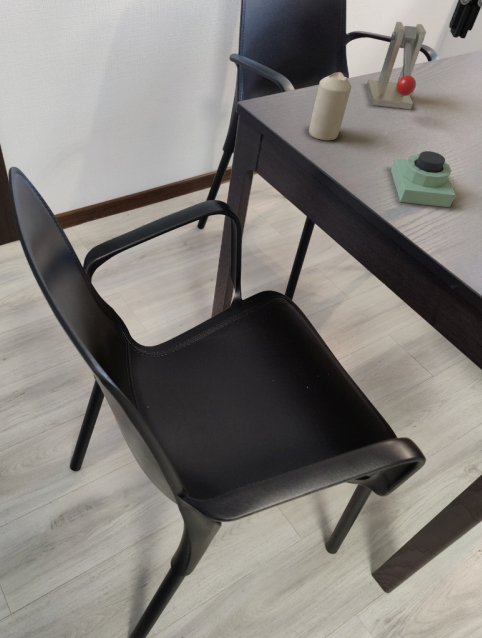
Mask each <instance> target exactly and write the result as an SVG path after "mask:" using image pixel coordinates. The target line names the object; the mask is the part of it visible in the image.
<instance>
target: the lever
mask: <svg viewBox="0 0 482 638" xmlns="http://www.w3.org/2000/svg"><path fill="white" fill-rule="evenodd" d="M403 26H404V28H405V32H404V35H403V38H402V41H401V45H400V48H399V49H403V58H402V59H403V60H402V67H403V77H402V78H401V79H400V80H399V81H398V80H397V82H398V83H397V82H396V83H397V92H398V93H399V94H400V95H402V96H408V95H410V96H411V94H413V93H414V91H415V89H416V86H417V82H416V79H415V77H414V76H412V75H411V76H410V68H411V47H412V45H413V43H414V41H415V39H416V26H414V25H413V26H411V25H403Z"/></svg>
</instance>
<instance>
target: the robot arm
mask: <svg viewBox="0 0 482 638" xmlns="http://www.w3.org/2000/svg"><path fill="white" fill-rule="evenodd" d="M481 9H482V0H457V2H456V6H455V8H454V11H453V13H452V15H451V18H450V21H449V24H448V27H449V29H450V30H449V32H450V33H451V36H452V37H453V38H456V39H457V38H458V37H459V38H460V39H466V37H467V35H468V33H469V32H471V31H472V30H473V28H474V26H475V23H476V21H477V18H478V16H479V13H480V11H481Z"/></svg>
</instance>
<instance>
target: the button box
mask: <svg viewBox="0 0 482 638" xmlns="http://www.w3.org/2000/svg"><path fill="white" fill-rule="evenodd" d="M419 155H420V153H419V154H414V155H410V156H408V158H407V159H406V158H397V157H395V158H394V159H393V163H392V166H391V168H390V172H391V176H392V180H393V183H394V186H395V189H396V193H397V196H398V199H399V202H400V203H404V204H415V205H425V206H434V207H443V208H450V207H451V205H452V203H453V201H454V199H456V198H455V197H456V192H455V190H454V188H453V184H452V183H451V181H450V178H449V177H450V175H451V173H452V169H451V166H450V163H447V162H446V161H445V162H444V165H443V167H442V169H441V171H440V172H438V173H430V172H426V171H423V170H420V169H419V168H418V167H416V162H417V160H418V157H419Z"/></svg>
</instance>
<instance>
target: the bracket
mask: <svg viewBox="0 0 482 638" xmlns="http://www.w3.org/2000/svg"><path fill="white" fill-rule="evenodd" d="M404 26H405V25H404V24H403V22H402V21H396V22H395V25H394V29H393V32H392V33H391V37H390V42H389V44H388V48H387V52H386V54H385V58H384V61H383V65H382V67H381V70H380V74H379V77H378V80H374V79H373V80H372V79H367V82H366V88H367V92H368V93H367V94H368V95H369V99H370V103H371V106H374V107H383V108H384V107H385V108H386V107H387V108H393V109H394V108H395V109H403V110H412V108H413V105H414V102H413V100H412V98H411V94H410V95H408V96H402V95H400V94H399V93H398V92H397V83H398V81H399V80H400V79H401V78H402V77H403V66H402V68H401V70H400V73H399V76H398V79H397V81H396V82H392V81H390V78H391V75H392V72H393V69H394V66H395V63H396V60H397V56H398V53H399V51H400V49H401V48H400V45H401V41H402V38H403V35H404V32H405V28H404ZM415 27H416V39H415V41H414V43H413V45H412V47H411V68H410V76H412V74H413V71H414V69H415V65H416V62H417V60H418V57H419V54H420V51H421V48H422V46H423V43H424V41H425V38H426V34H427V31H426V28H425V27H424V25H423V24H422V23H417V24H416V26H415Z"/></svg>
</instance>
